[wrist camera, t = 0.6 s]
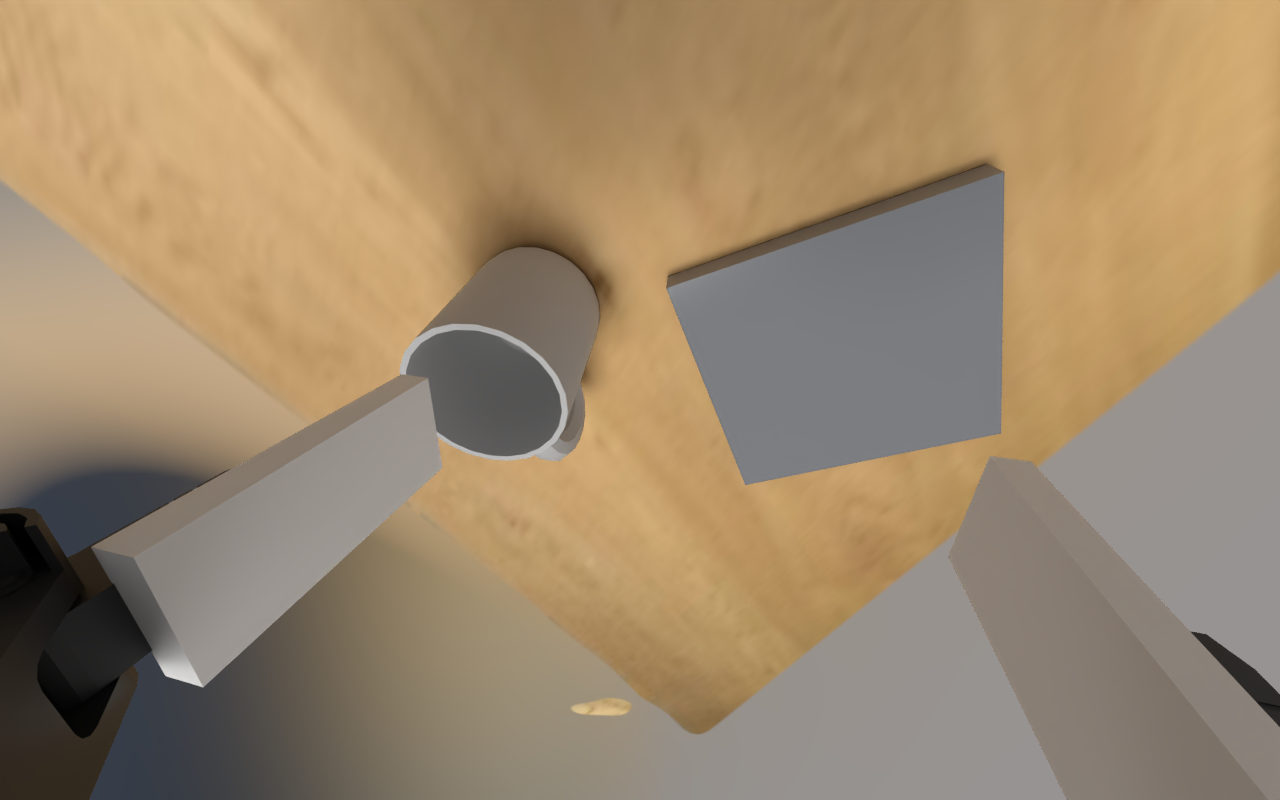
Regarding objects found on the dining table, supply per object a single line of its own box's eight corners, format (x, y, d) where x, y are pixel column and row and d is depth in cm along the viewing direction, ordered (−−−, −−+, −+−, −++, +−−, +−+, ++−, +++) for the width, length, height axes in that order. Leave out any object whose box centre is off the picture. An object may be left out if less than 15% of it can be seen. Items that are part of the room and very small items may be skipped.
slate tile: (667, 276, 26) (666, 288, 25) (987, 164, 21) (1003, 171, 20) (743, 469, 34) (745, 484, 33) (988, 417, 29) (1000, 433, 28)
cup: (564, 222, 25) (509, 298, 18) (640, 375, 30) (622, 482, 23) (451, 270, 27) (363, 355, 20) (541, 405, 32) (496, 510, 25)
